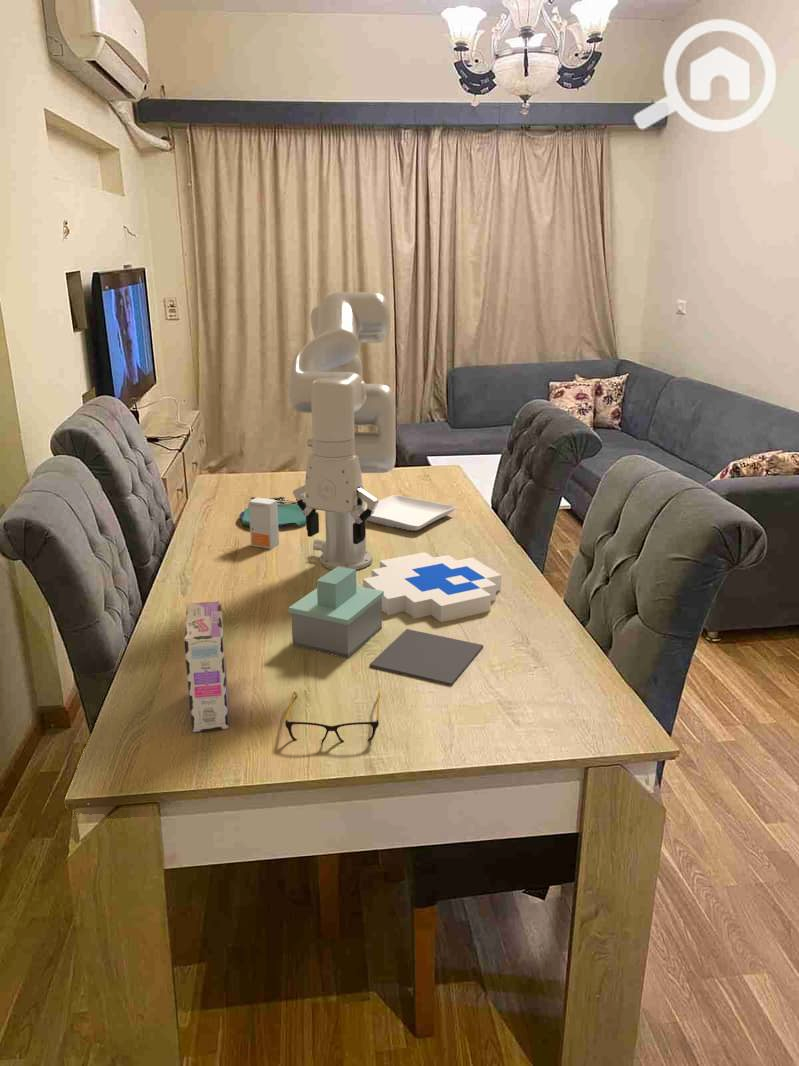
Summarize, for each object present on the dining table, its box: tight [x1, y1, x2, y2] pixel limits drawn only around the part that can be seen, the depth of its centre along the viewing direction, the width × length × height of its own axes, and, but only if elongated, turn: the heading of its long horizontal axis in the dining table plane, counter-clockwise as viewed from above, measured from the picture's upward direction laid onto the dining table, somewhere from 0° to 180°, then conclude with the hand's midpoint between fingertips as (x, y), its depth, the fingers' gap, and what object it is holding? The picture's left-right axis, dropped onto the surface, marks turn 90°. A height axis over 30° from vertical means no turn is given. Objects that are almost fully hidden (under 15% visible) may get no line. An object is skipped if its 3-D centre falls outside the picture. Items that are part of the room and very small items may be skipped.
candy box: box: [184, 600, 230, 733], centre depth 132 cm, size 14×6×16 cm, turn 12°
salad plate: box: [365, 494, 456, 532], centre depth 228 cm, size 21×21×3 cm
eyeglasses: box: [284, 690, 381, 743], centre depth 132 cm, size 14×14×4 cm
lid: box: [288, 566, 384, 625], centre depth 157 cm, size 13×15×6 cm
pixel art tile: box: [362, 552, 502, 623], centre depth 180 cm, size 28×4×28 cm
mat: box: [369, 628, 484, 687], centre depth 152 cm, size 16×16×1 cm
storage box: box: [290, 598, 383, 659], centre depth 159 cm, size 12×14×7 cm
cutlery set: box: [239, 496, 306, 528], centre depth 233 cm, size 20×30×2 cm, turn 6°
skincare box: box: [248, 496, 280, 550], centre depth 206 cm, size 6×4×12 cm
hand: (335, 538), depth 153 cm, fingers open, 9 cm apart
